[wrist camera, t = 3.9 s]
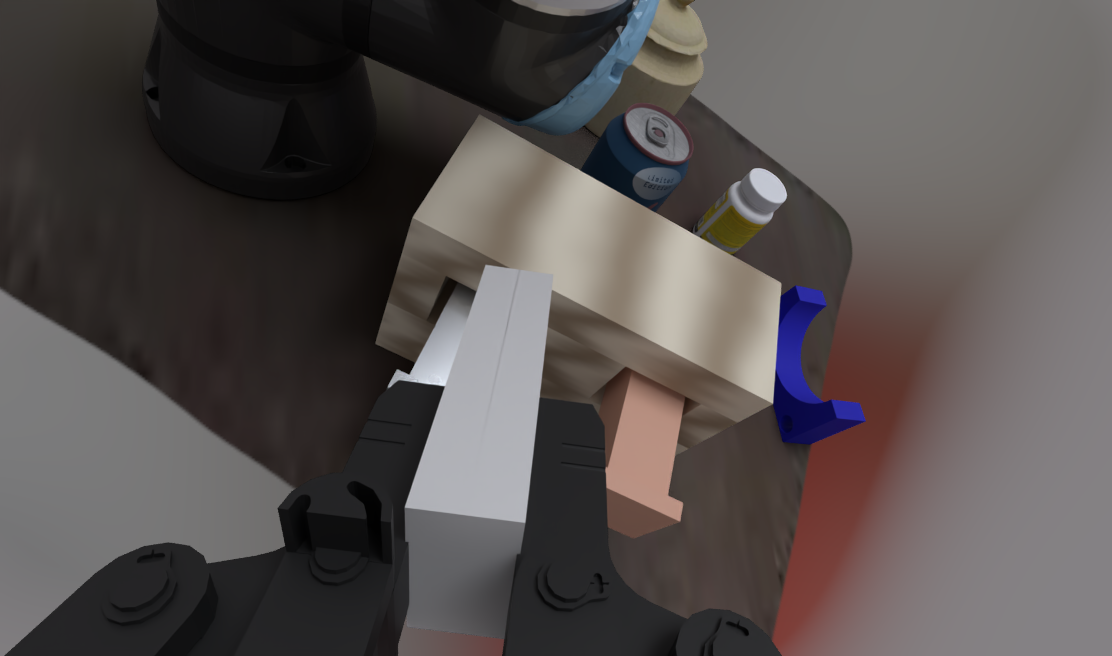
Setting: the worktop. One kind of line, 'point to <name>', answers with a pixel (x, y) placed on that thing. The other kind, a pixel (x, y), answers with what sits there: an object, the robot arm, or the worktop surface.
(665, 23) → the sugar bowl
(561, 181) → the housing
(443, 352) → the grey plug
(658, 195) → the soda can
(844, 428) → the blue curved cradle
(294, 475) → the worktop surface
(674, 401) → the terracotta plug
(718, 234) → the supplement bottle
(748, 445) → the worktop surface
